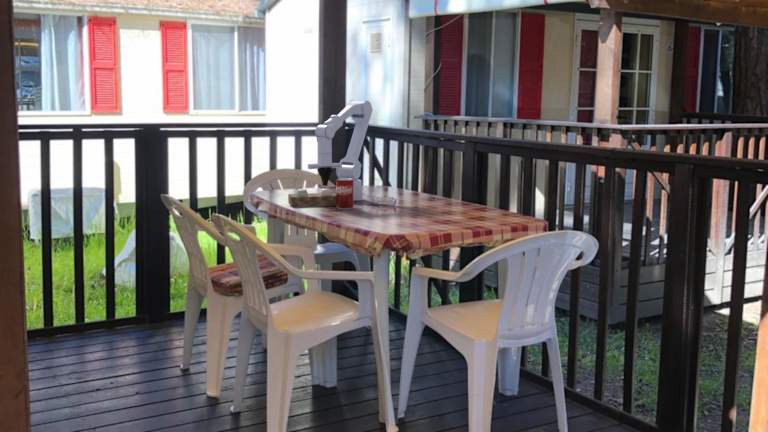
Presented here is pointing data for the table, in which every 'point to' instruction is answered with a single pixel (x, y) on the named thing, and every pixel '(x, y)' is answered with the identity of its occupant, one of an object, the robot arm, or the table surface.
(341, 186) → the soda can
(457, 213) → the table surface
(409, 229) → the table surface
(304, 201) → the button panel
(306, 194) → the sage button
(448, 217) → the table surface
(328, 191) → the cream button
